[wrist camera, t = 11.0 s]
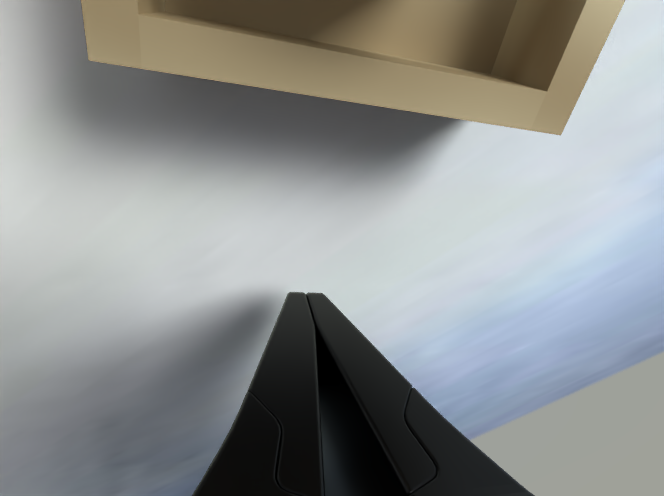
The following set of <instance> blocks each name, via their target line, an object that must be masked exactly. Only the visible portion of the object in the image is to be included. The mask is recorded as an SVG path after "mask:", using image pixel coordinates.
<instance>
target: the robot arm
mask: <svg viewBox="0 0 664 496" xmlns="http://www.w3.org/2000/svg"><path fill="white" fill-rule="evenodd" d="M411 388H412V385H411V384H410V383H409V382H408V381H407V380H406V379H405V378H404V377H403V376H402V375H401V374H400V372H399V371H398V370H397V369H396V368H395V367H394V366H393V365H392V364H391V363H390V362H389V361H388V360H387V359H386V358H385V357H384V356H383V355H382V354H381V353H380V352H379V351H378V350H377V349H376V348H375V347H374V346H373V345H372V343H371V342H370V341H369V340H368V339H367V338H366V337H365V336H364V335H363V334H362V333H361V332H360V331H359V330H358V329H357V328H356V327H355V326H354V325H353V324H352V323H351V322H350V321H349V320H348V319H347V318H346V317H345V316H344V314H343V313H342V312H341V311H340V310H339V309H338V308H337V307H336V306H335V305H334V304H333V303H332V302H331V301H330V300H329V299H328V298H327V297H326V296H325V295H324V294H322V293H307V294H305V293H303V292H289V293H288V294H287V297H286V299H285V302H284V304H283V306H282V309H281V311H280V314H279V316H278V318H277V321H276V323H275V326H274V328H273V331H272V333H271V335H270V338H269V340H268V343H267V345H266V348H265V350H264V352H263V355H262V357H261V360H260V362H259V364H258V367H257V369H256V372H255V374H254V377H253V379H252V381H251V384H250V386H249V389H248V392H247V393H246V395H245V398H244V400H243V403H242V405H241V407H240V410H239V412H238V414H237V416H236V418H235V420H234V423H233V425H232V427H231V429H230V431H229V433H228V435H227V436H226V438H225V440H224V442H223V444H222V446H221V447H220V449H219V451H218V453H217V455H216V456H215V458H214V460H213V461H212V463H211V465H210V466H209V468H208V470H207V471H206V473H205V475H204V476H203V478H202V480H201V482H200V483H199V485H198V487H197V488H196V490H195V492H194V493H193V495H192V496H535V495H533V494H532V493H530V492H529V491H528V490H526V489H525V488H524V487H523V486H522V485H520V484H519V483H518V482H517V481H516V480H514V479H513V478H512V477H511V476H510V475H509V474H508V473H506V472H505V471H504V470H503V469H502V468H500V467H499V466H498V465H497V464H496V463H495V462H494V461H493V460H491V459H490V458H489V457H488V456H487V455H486V454H485V453H483V452H482V451H481V450H480V449H479V448H478V447H476V446H475V445H474V444H473V443H472V442H471V441H470V440H468V439H467V438H466V437H465V436H464V435H463V434H462V433H461V432H459V431H458V430H457V429H456V428H455V427H454V426H453V425H452V424H451V423H449V422H448V421H447V420H446V419H445V418H444V417H443V416H442V415H441V414H440V413H439V412H438V411H437V410H436V409H435V408H434V407H433V406H432V405H431V404H430V403H429V402H428V401H427V400H426V399H425V398H424V397H423V396H422V395H421V394H420V393H419V392H418V391H417V390H416V389H415V388H412V389H411Z"/></svg>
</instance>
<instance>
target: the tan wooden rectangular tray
mask: <svg viewBox="0 0 664 496" xmlns="http://www.w3.org/2000/svg"><path fill="white" fill-rule="evenodd" d="M624 2H625V0H81V5H82V13H83V21H84V29H85V37H86V44H87V52H88V60H89V61H95V62H101V63H107V64H114V65H120V66H126V67H133V68H139V69H145V70H152V71H158V72H164V73H170V74H177V75H183V76H189V77H196V78H202V79H208V80H215V81H221V82H227V83H234V84H240V85H246V86H253V87H259V88H265V89H272V90H278V91H284V92H291V93H297V94H303V95H310V96H316V97H322V98H329V99H335V100H341V101H348V102H354V103H360V104H366V105H373V106H379V107H385V108H392V109H398V110H404V111H411V112H417V113H423V114H430V115H436V116H442V117H449V118H455V119H461V120H468V121H474V122H480V123H487V124H493V125H499V126H506V127H512V128H518V129H525V130H531V131H537V132H543V133H550V134H556V135H561V134H562V132H563V130H564V127H565V125H566V123H567V121H568V119H569V117H570V115H571V113H572V111H573V109H574V107H575V104H576V102H577V100H578V98H579V96H580V94H581V92H582V90H583V88H584V86H585V84H586V81H587V79H588V77H589V75H590V73H591V71H592V69H593V67H594V65H595V63H596V60H597V58H598V56H599V54H600V52H601V50H602V48H603V46H604V44H605V42H606V40H607V37H608V35H609V33H610V31H611V29H612V27H613V25H614V23H615V21H616V19H617V17H618V14H619V12H620V10H621V8H622V6H623V4H624Z"/></svg>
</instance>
